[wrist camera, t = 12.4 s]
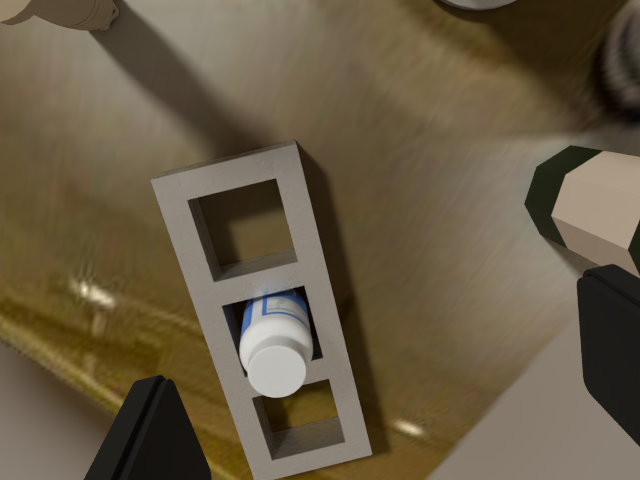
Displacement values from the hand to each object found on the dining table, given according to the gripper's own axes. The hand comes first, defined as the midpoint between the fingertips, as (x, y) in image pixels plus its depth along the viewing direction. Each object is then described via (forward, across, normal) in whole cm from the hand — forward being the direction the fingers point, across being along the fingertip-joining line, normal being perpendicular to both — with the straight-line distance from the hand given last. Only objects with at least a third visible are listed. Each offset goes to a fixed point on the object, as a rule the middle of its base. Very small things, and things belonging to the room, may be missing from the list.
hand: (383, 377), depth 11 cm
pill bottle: (+28, +7, +12) cm, 31 cm away
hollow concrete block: (+28, +7, +12) cm, 31 cm away
